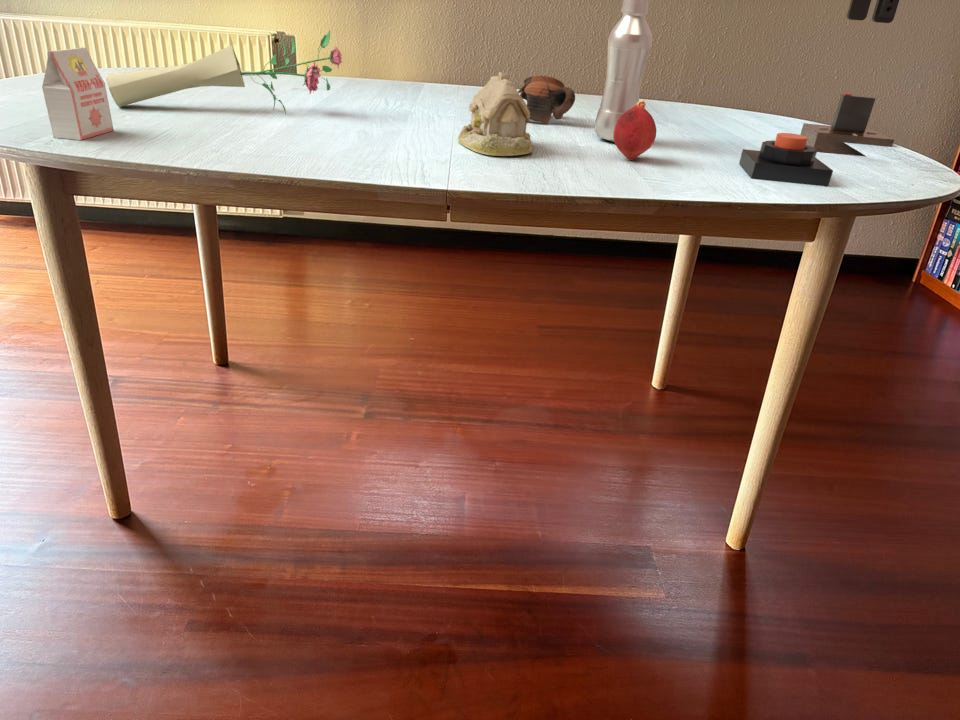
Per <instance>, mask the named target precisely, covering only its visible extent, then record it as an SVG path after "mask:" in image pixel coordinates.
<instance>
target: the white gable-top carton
mask: <svg viewBox="0 0 960 720" xmlns="http://www.w3.org/2000/svg"><path fill="white" fill-rule="evenodd" d="M46 56H47V59H46V67H45V71H44V77H43V81H42V86H41V89H42V92H43V97H44V102H45V107H46V111H47V114H48V119H49V124H50V128H51V132H52V133H51V134H52V137H53V138H55V139H56V138H57V139H66V140H74V141H75V140H76V141H83V140H87V139H89V138H90V139H91V138H93V137H96V136H100V135H103V134H107V133H110V132H114V124H113V119H112V113H111V108H110V103H109V98H108V91H107V87H106V82H105V81H104V79H103V77H102V76H101V73H100V72H99V71H98V68H97V67H96V65H95V63H94V61H93V59H92V57H91V55H90V53H89V50H88V47H77V48H67V49H58V50H48V51H47V55H46Z"/></svg>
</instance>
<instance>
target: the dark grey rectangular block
mask: <svg viewBox="0 0 960 720" xmlns="http://www.w3.org/2000/svg"><path fill="white" fill-rule="evenodd" d="M876 100H877V99H876V97H873V96H866V95H865V96H863V95H853V94H852V93H849V92H843V93H841V94H840V97H839V100H838V104H837V106H836V109H835V114H834V117H833V120H832V123H831V125H830V126H831V129H833V130H837V131H848V132H858V133H864V132H865V129H867V126H868V124H869V120H870V117H871V114H872V111H873V108H874V104H875V102H876Z"/></svg>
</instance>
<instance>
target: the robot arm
mask: <svg viewBox="0 0 960 720" xmlns="http://www.w3.org/2000/svg"><path fill="white" fill-rule="evenodd" d="M871 2H872V0H850V2H849V6H848V10H847V13H846V19H847V20H851V21H864V20H866V19H867V17H868V14H869V10H870V6H871ZM899 3H900V0H876V2H875V5H874V8H873V9H874V10H873V13H872V15H871V21H872V22H873V23H879V24H880V23H882V24H890V23H892V22H893V21H894V19H895V16H896V14H897V13H896V12H897V10H898V6H899Z"/></svg>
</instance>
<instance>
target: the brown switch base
mask: <svg viewBox="0 0 960 720" xmlns="http://www.w3.org/2000/svg"><path fill="white" fill-rule="evenodd" d="M831 126H832V125H828V124H827V125H826V124H814V123H805V122H804V123H803V124H802V127H801V131H800V133H799V135H803V136H806V137H808V140H807V144H806V145H808V146H811V147H814V148H815V149H817V153H829V154H839V155H850V156H860V157H866V154H864V153H862V152H860V151H859V150H857V149H855V148H854V147H852V146H850V145H849V144H857V145H866V146H877V147H887V148H888V147H889V148H892V147H893V145H894V143H895V139H894V138H892V137H890V136H888V135H885V134H883V133H881V132H880V131H877V130H875V129H868V128H866V129H865V132H864V133H858V132H848V131H837V130H833V129H831Z"/></svg>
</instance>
